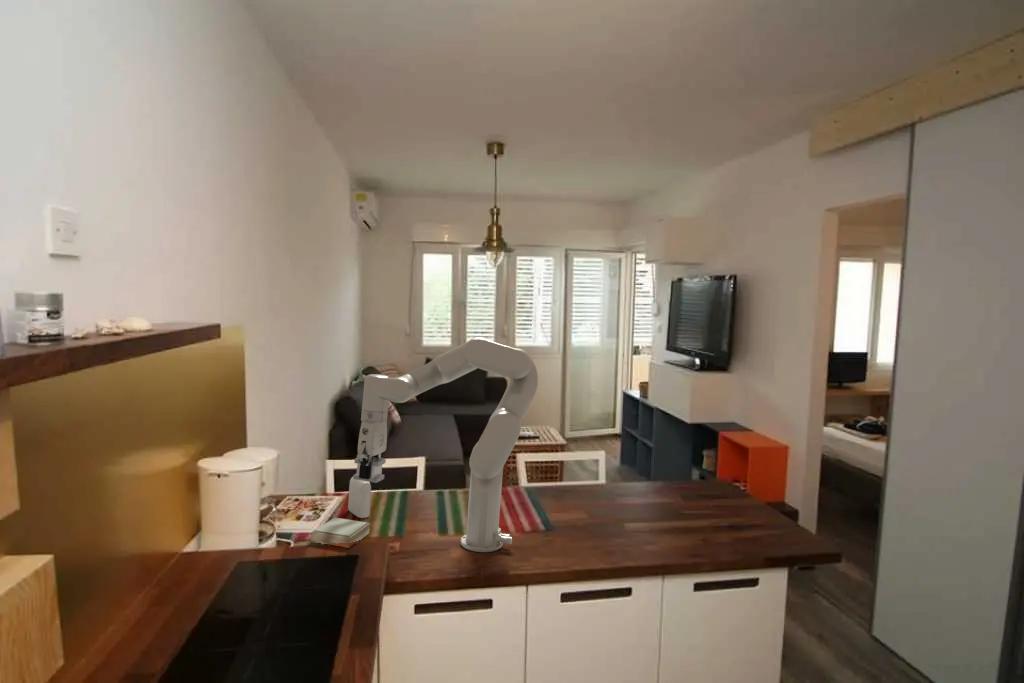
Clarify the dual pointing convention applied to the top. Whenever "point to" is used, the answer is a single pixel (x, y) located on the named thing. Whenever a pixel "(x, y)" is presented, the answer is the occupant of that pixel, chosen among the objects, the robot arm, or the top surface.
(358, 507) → the photo printer
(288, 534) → the top surface
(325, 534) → the pale green flat tray
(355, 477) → the steel housing
